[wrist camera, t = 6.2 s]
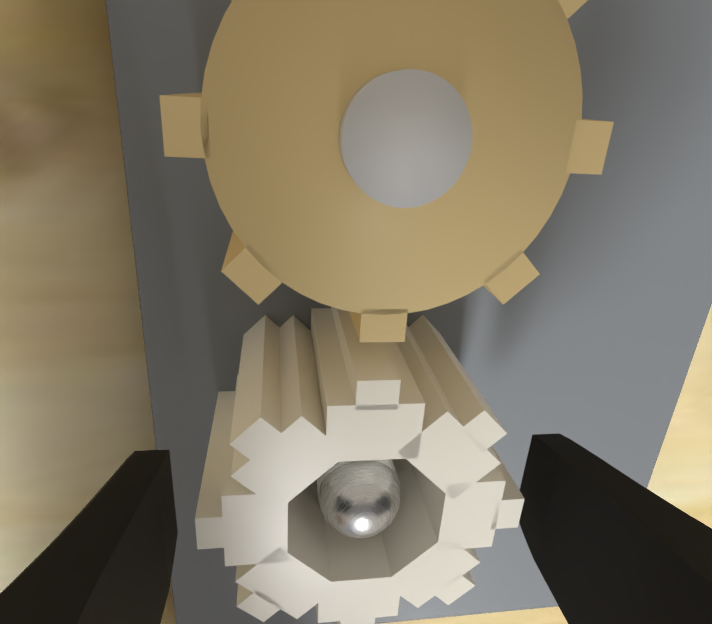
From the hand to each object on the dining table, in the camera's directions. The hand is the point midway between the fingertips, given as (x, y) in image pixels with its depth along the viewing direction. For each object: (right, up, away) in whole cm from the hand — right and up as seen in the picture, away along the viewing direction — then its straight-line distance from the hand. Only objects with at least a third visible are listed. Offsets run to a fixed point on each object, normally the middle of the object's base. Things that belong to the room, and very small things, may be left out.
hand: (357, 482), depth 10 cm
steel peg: (-1, +2, +4) cm, 4 cm away
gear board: (+2, +3, +3) cm, 5 cm away
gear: (0, +1, +3) cm, 3 cm away
